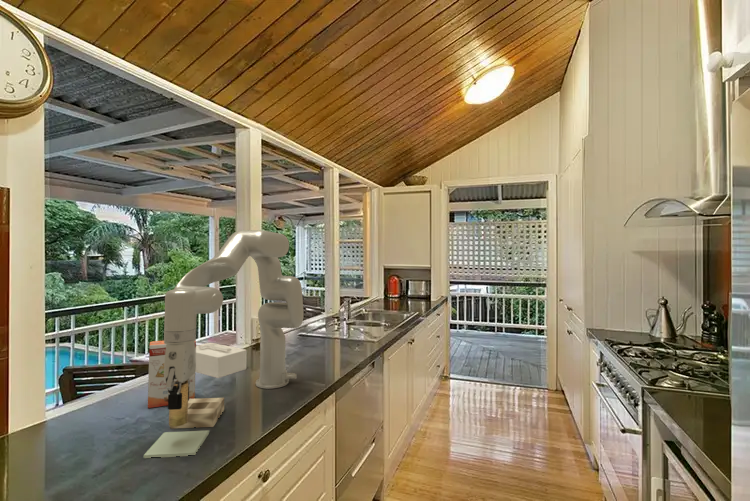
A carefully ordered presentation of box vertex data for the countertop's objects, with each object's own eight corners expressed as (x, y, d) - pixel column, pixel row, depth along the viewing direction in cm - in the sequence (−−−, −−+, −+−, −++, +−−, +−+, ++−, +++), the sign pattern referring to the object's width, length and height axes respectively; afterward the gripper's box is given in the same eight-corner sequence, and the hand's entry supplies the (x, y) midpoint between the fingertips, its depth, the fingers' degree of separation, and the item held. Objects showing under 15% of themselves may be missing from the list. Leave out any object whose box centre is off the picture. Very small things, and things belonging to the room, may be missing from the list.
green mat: (209, 433, 107) (209, 430, 107) (194, 455, 96) (194, 452, 96) (164, 435, 106) (164, 432, 106) (143, 458, 94) (143, 455, 94)
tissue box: (209, 360, 179) (210, 337, 179) (246, 369, 167) (246, 344, 167) (180, 368, 167) (181, 343, 167) (218, 378, 154) (218, 351, 154)
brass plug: (189, 419, 103) (190, 381, 103) (183, 426, 99) (184, 387, 99) (172, 419, 102) (173, 382, 103) (165, 426, 98) (166, 387, 98)
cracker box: (147, 409, 123) (148, 344, 123) (148, 403, 128) (149, 340, 128) (195, 402, 129) (196, 340, 130) (194, 396, 135) (195, 337, 135)
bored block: (224, 409, 123) (224, 397, 123) (213, 426, 111) (213, 413, 111) (185, 411, 122) (185, 398, 122) (169, 428, 110) (170, 414, 110)
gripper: (183, 343, 93) (181, 418, 93) (205, 329, 110) (203, 393, 109) (150, 343, 92) (148, 419, 92) (177, 330, 109) (176, 394, 109)
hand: (178, 404), depth 101 cm, fingers closed on brass plug, 4 cm apart
